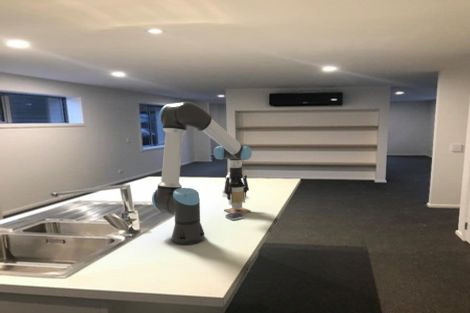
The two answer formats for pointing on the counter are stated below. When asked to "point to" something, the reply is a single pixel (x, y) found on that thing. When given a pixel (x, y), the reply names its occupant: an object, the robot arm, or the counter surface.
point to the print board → (237, 210)
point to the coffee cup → (237, 194)
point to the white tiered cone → (224, 186)
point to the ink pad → (234, 216)
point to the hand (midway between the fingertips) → (237, 203)
